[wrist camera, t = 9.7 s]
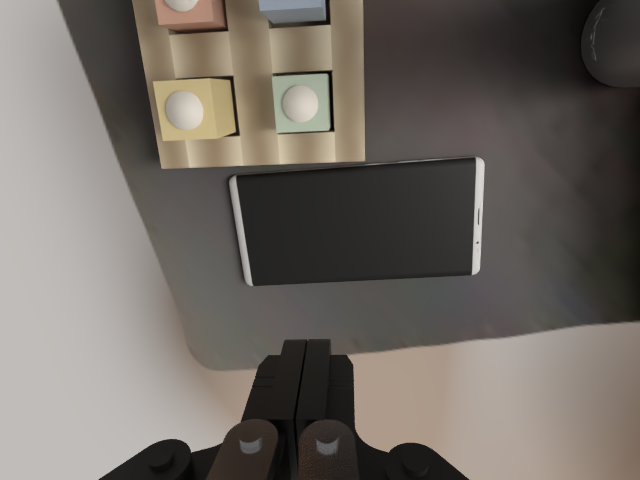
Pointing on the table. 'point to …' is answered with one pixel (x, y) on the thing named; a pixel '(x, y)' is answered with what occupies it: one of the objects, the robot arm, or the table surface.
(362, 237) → the smartphone
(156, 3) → the button
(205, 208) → the table surface
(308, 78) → the button
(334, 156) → the board
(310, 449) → the robot arm
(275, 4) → the button
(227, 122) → the button
